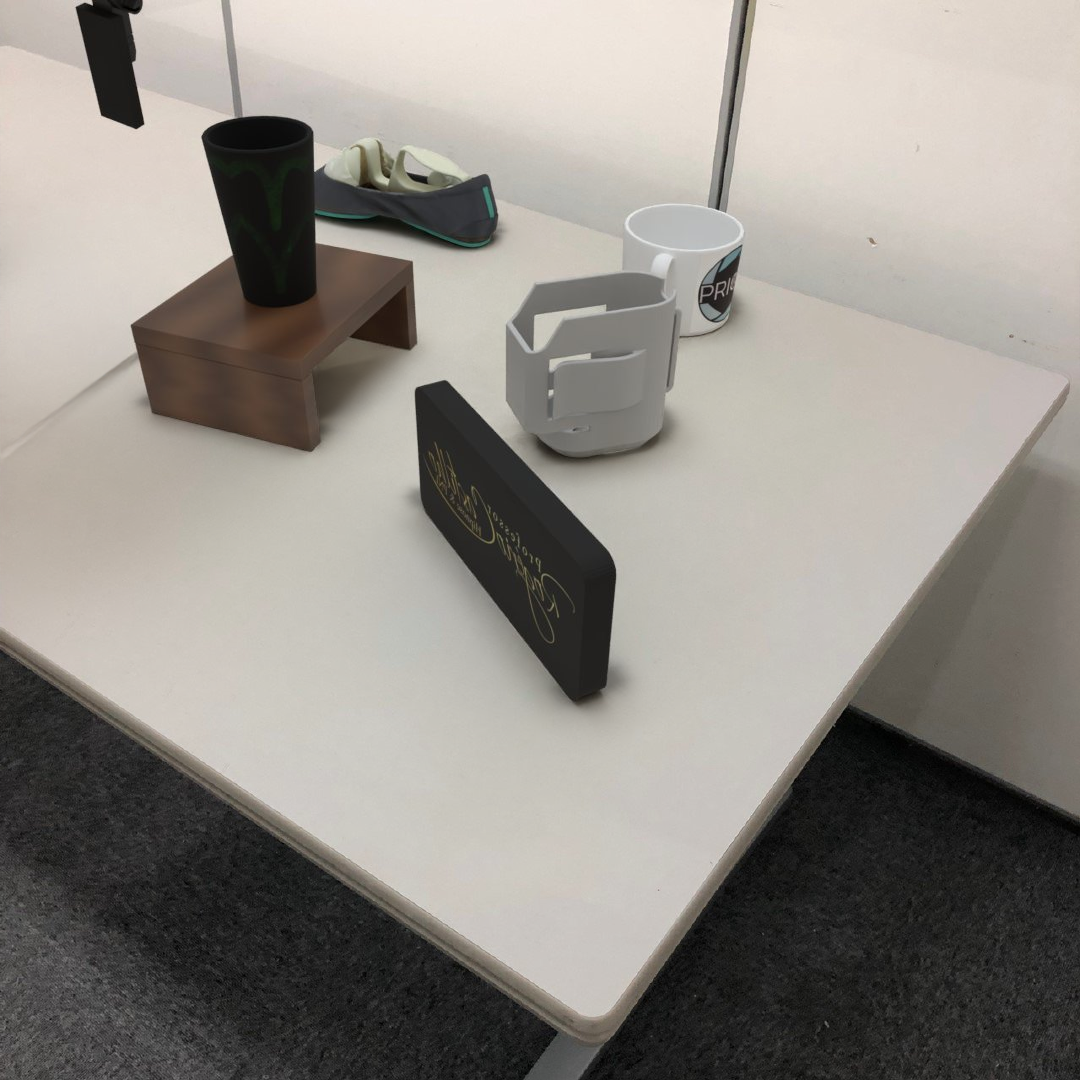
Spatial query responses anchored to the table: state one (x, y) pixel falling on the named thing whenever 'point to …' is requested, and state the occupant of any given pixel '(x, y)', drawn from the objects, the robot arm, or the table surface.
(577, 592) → the nameplate
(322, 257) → the shelf
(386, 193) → the ballet flat
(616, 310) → the cable organizer
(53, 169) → the table surface
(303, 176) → the cup
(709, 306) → the mug
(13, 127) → the table surface
